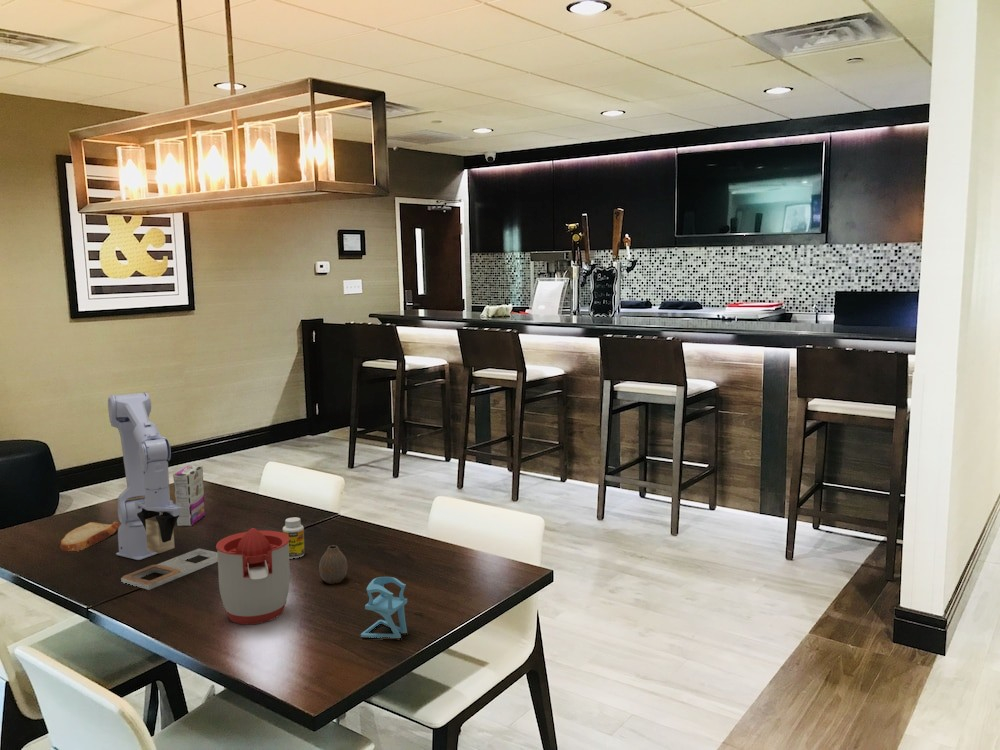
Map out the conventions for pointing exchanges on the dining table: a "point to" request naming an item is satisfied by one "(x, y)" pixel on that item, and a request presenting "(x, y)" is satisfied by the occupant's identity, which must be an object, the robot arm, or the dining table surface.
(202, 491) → the candy bar box
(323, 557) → the vase
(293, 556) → the supplement bottle
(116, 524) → the bread slice
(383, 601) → the chair
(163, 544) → the birch peg
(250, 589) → the citrus juicer
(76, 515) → the dining table surface
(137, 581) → the rail
